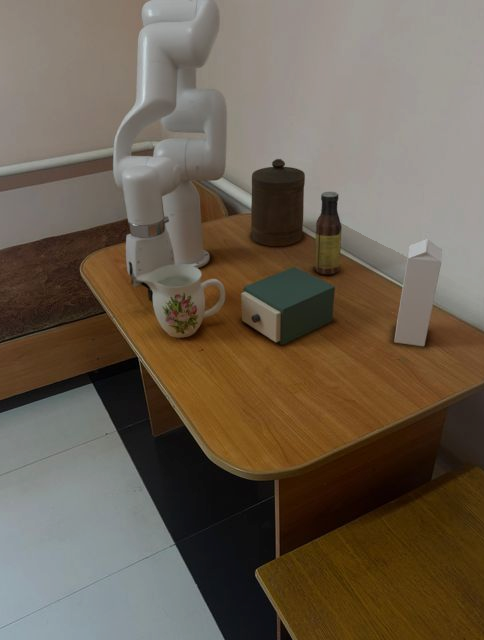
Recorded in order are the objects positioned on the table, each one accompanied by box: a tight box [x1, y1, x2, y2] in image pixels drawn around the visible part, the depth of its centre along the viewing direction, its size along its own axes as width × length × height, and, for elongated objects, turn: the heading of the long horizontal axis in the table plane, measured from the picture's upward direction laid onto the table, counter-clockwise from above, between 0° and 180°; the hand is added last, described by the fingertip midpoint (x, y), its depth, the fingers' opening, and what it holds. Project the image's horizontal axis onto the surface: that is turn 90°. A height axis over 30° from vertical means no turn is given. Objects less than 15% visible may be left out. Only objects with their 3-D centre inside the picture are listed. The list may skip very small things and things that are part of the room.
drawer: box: [240, 291, 281, 343], centre depth 115 cm, size 15×11×7 cm
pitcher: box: [137, 264, 226, 339], centre depth 113 cm, size 11×18×14 cm, turn 103°
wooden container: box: [250, 158, 306, 247], centre depth 151 cm, size 15×15×22 cm
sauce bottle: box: [314, 191, 342, 276], centre depth 132 cm, size 6×6×20 cm
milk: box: [393, 231, 443, 347], centre depth 105 cm, size 6×6×22 cm
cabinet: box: [243, 266, 336, 346], centre depth 116 cm, size 15×13×9 cm
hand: (156, 302), depth 125 cm, fingers closed
